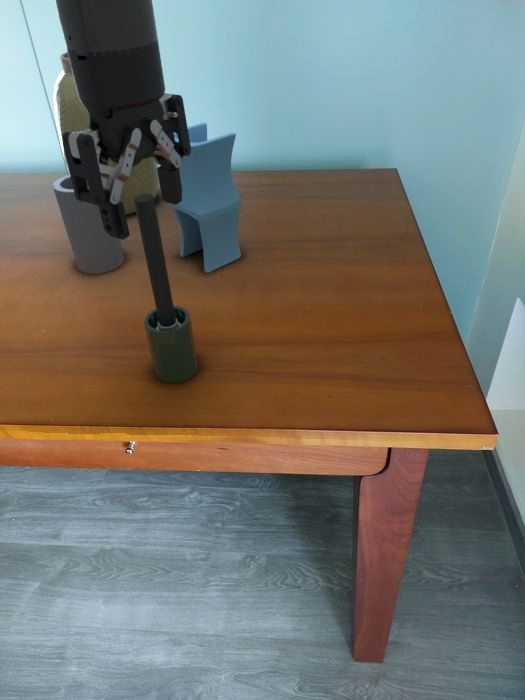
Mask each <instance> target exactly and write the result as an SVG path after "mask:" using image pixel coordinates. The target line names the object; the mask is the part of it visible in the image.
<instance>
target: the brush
mask: <svg viewBox="0 0 525 700" xmlns="http://www.w3.org/2000/svg"><path fill="white" fill-rule="evenodd" d="M134 204H135V208H136V212H135V213H136V218H137V222H138V227H139V232H140V237H141V242H142V246H143V252H144V256H145V262H146V266H147V271H148V275H149V281H150V286H151V291H152V295H153V296H152V297H153V300H154V304H155V305H154V306H155V309H156V310H157V315H158V320H159V321H158V326H157V328H156V329H157V330H169V329H174V328H176V327H178V326H180V325H181V324H180V323H179V322H178V320H177V319H176V318H175V312H174V306H175V305H174V301H173V296H172V290H171V284H170V278H169V274H168V268H167V262H166V257H165V252H164V246H163V239H162V234H161V230H160V224H159V218H158V212H157V206H156V202H155V200H154V196H153V195H151V194H141V195H138V196H136V197H135V198H134Z"/></svg>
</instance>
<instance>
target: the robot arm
mask: <svg viewBox="0 0 525 700" xmlns="http://www.w3.org/2000/svg"><path fill="white" fill-rule="evenodd" d="M55 4H56V10H57V11H56V12H57V15H58V20H59V23H60V27H61V32H62V35H63V41H64V43H65V48H66V52H68V56H69V60H70V64H71V68H72V72H73V76H74V80H75V84H76V88H77V92H78V96H79V99H80V101H81V102H82V103H83V105H84V106H85V107H86V109H87V111H88V113H89V129H87V130H84V131H81V132H69V131H66V132H64V133H63V135H62V142H63V146H64V150H65V154H66V159H67V163H68V167H69V172H70V176H71V180H72V185H73V189H74V193H75V197H76V199H77V200H78V201H82V202H87V203H91V204H94V205H98V207H99V211H100V215H101V219H102V223H103V226H104V230H105V231H106V233H107V234H109V235H110V236H111V237H114V238H118V239H120V240H122V241H124V240H125V239H127V238H128V237H130V228H129V225H128V220H127V215H125V210H124V206H123V202H122V201H120V197H121V193H122V189H123V184H124V182H125V181H126V180H128V179H129V177H130V173H131V169H132V167H133V166H135V165H137V164H139V163H140V162H141V161H142V160H143V159H146V158H150V157H152V158H153V159H154V160H155V162H156V163H157V164H158V166H159V167H158V168H157V172H158V178H159V188H160V196H161V199H162V201H163V202H164V203H167V204H170V205H172V204H175V205H177V204H178V203H180V202H181V201H182V185H181V179H180V172H179V167H180V166H181V163H182V160H181V159H182V158H183V157H184V156H189V155H190V152H191V145H190V139H189V133H188V127H189V126H188V122H187V117H186V111H185V110H186V109H185V104H184V99H183V96H182V95H181V94H174V93H167V92H166V85H165V79H164V70H163V64H162V59H161V52H160V45H159V38H158V31H157V23H156V16H155V11H154V5H153V0H55ZM174 133H176V134H177V135H178V140H179V142H175V138H174ZM96 147H97V149H96ZM109 158H110V159H111V160H112V161H113V162H114V163H117V164H118V165H117V166H116V167H111V166H108V160H109ZM109 177H111V181H110V185H109V189H106V185H107V181H108V178H109ZM86 180H87V182H88V187H89V188H88V187H87V182H86Z"/></svg>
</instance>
